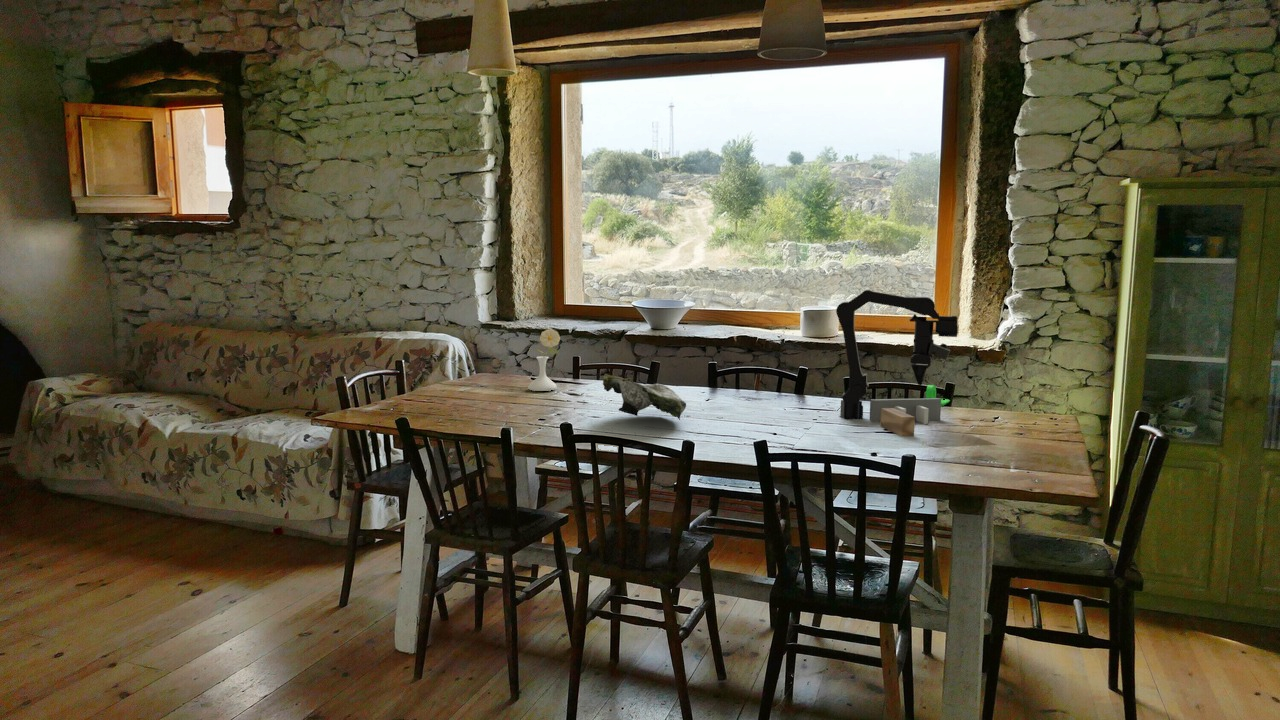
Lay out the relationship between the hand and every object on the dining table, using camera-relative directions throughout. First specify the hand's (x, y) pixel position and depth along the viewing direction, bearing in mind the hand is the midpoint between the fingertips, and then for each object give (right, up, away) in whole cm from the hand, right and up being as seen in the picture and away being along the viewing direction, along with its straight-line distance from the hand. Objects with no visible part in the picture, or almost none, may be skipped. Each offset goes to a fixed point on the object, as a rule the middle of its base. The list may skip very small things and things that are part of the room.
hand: (920, 383), depth 284 cm
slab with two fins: (-4, -13, 0) cm, 13 cm away
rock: (-93, -12, 0) cm, 94 cm away
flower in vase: (-130, -5, +59) cm, 143 cm away
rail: (-12, -15, -15) cm, 25 cm away
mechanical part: (+17, -10, +33) cm, 38 cm away
